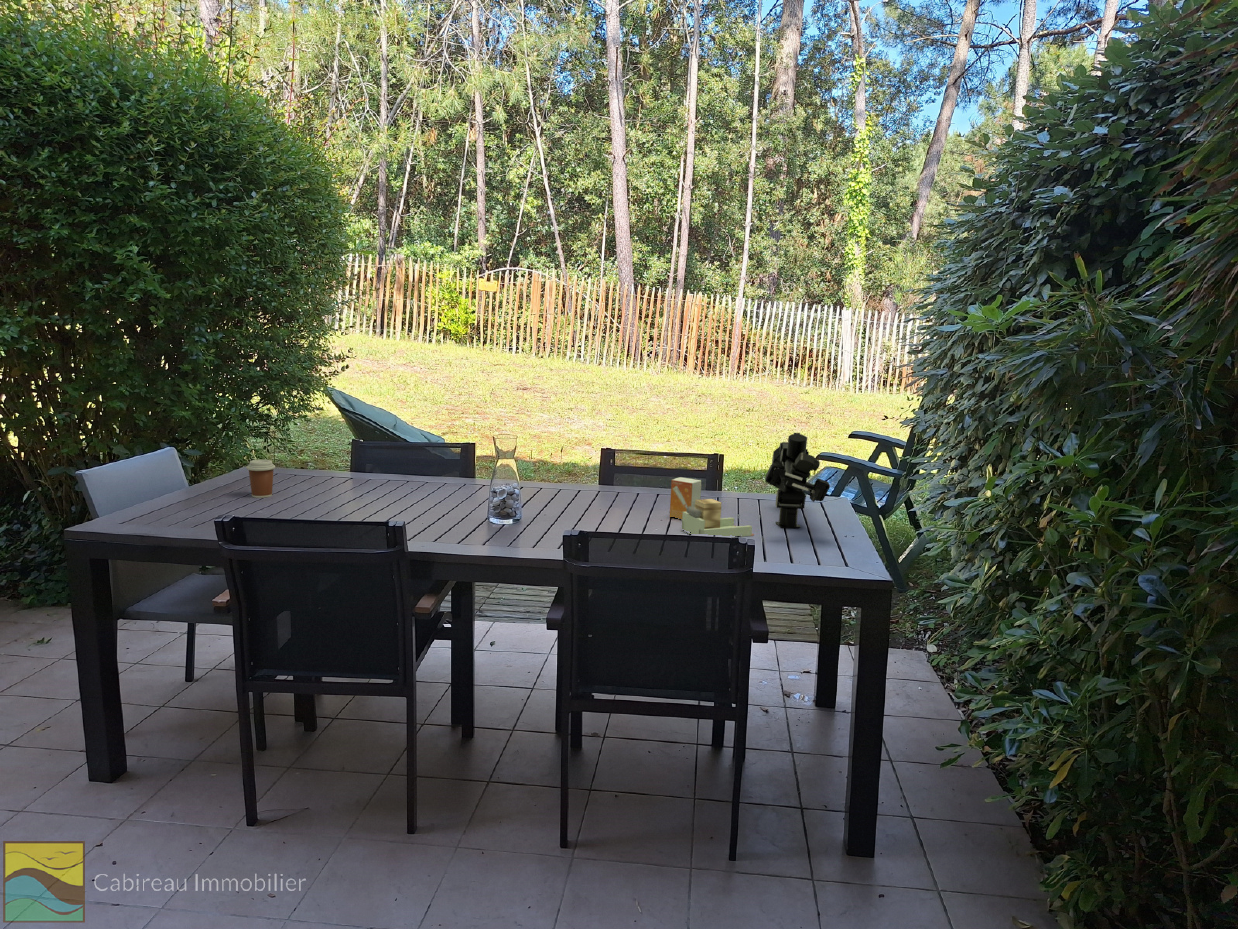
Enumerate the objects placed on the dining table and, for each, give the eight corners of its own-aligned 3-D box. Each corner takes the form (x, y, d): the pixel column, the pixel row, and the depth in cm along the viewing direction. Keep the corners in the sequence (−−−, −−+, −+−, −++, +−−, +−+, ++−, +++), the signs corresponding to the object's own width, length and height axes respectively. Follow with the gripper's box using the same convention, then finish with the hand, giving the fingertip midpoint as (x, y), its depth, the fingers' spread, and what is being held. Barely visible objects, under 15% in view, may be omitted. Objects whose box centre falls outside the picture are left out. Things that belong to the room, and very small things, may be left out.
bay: (733, 526, 283) (735, 500, 281) (753, 535, 272) (755, 508, 271) (680, 530, 275) (681, 504, 273) (698, 540, 264) (699, 512, 263)
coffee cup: (269, 499, 297) (268, 464, 295) (242, 498, 297) (241, 463, 295) (280, 493, 306) (279, 459, 304) (254, 492, 306) (253, 458, 304)
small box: (669, 518, 291) (670, 479, 288) (678, 514, 296) (680, 476, 294) (690, 522, 286) (692, 482, 284) (699, 518, 292) (702, 480, 289)
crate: (710, 528, 276) (712, 498, 274) (719, 532, 271) (721, 502, 269) (693, 529, 273) (695, 499, 272) (702, 534, 268) (704, 503, 267)
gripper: (777, 439, 268) (781, 462, 254) (834, 459, 269) (841, 483, 256) (763, 469, 273) (765, 493, 260) (819, 489, 275) (824, 514, 261)
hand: (799, 495), depth 259 cm, fingers open, 9 cm apart
